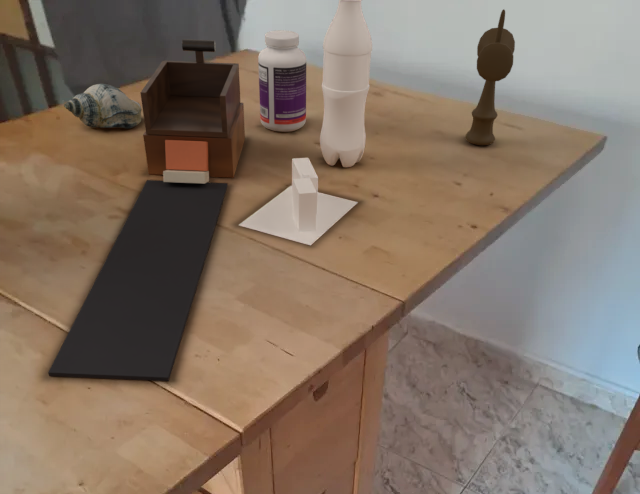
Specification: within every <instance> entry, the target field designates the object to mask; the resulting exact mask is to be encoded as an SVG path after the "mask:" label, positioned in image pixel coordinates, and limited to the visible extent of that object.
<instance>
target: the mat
mask: <svg viewBox="0 0 640 494" xmlns="http://www.w3.org/2000/svg"><path fill="white" fill-rule="evenodd" d="M228 185H229V184H228V183H227V182H207V183H205V184H199V183H175V182H164V180H159V179H158V180H157V179H146V181H145V183H144V185H143V187H142V189H141V191H140V193H139V195H138V197H137V199H136V200H135V202H134V205H133V206H132V208H131V210H130V213H129V214H128V216H127V218H126V220H125V222H124V224H123V226H122V228H121V230H120V232H119V234H118V235H117V237H116V240H115V242H114V243H113V245H112V248H111V249H110V251H109V253H108V255H107V257H106V259H105V261H104V263H103V265H102V267H101V269H100V271H99V273H98V275H97V277H96V279H95V280H94V282H93V285H92V286H91V289H90V290H89V292H88V294H87V296H86V298H85V300H84V302H83V304H82V306H81V307H80V309H79V312H78V314H77V316H76V317H75V320H74V322H73V323H72V325H71V327H70V329H69V331H68V333H67V335H66V337H65V339H64V341H63V342H62V345H61V346H60V348H59V350H58V352H57V354H56V357H55V359H53V362H52V364H51V366H50V367H49V370H48V371H47V373H48V376H49V377H60V378H61V377H62V378H85V379H105V380H106V379H109V380H129V381H130V380H133V381H153V382H155V381H157V382H169V381H170V378H171V374H172V371H173V368H174V365H175V361H176V359H177V355H178V351H179V349H180V345H181V341H182V339H183V335H184V333H185V329H186V327H187V322H188V318H189V315H190V312H191V309H192V305H193V302H194V300H195V296H196V292H197V288H198V286H199V282H200V279H201V276H202V272H203V269H204V265H205V263H206V260H207V256H208V253H209V249H210V246H211V243H212V239H213V236H214V233H215V229H216V226H217V223H218V219H219V217H220V213H221V210H222V206H223V203H224V200H225V196H226V193H227V191H228V187H229V186H228Z"/></svg>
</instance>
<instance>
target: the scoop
mask: <svg viewBox="0 0 640 494" xmlns="http://www.w3.org/2000/svg"><path fill="white" fill-rule="evenodd" d="M181 48H182V51H183V52H195V61H187V60H166V59H165V60H164V59H163V60H162V61H161V62H160V64H159V65H158V67H156V70H155V71H154V72H153V74H152V75H151V77H150V78H149V79H148V80H147V83H146V84H145V85H144V86H143V88H142V89H141V91H140V93H139V94H140V100H141V109H142V114H143V122H144V128H145V131H146V134H148V135H172V136H196V137H220V138H228V136H229V133H230V130H231V127H232V124H233V122H234V119H235V116H236V113H237V110H238V107H239V105H240V103H241V83H240V65H239V63H238V62H237V63H236V62H235V63H233V62H214V61H213V62H211V61H205V53H216V51H217V50H216V49H217V43H216V40H213V39H191V38H182V40H181Z"/></svg>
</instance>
